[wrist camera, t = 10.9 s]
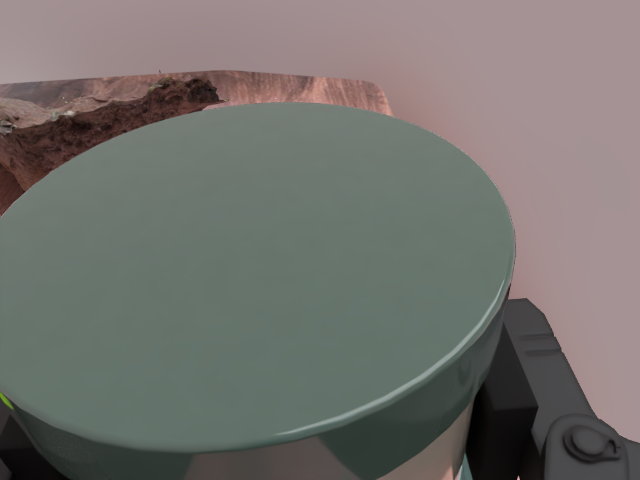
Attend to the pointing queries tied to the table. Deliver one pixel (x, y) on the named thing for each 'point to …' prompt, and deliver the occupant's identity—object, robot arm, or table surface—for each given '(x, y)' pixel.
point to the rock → (88, 124)
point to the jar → (255, 299)
